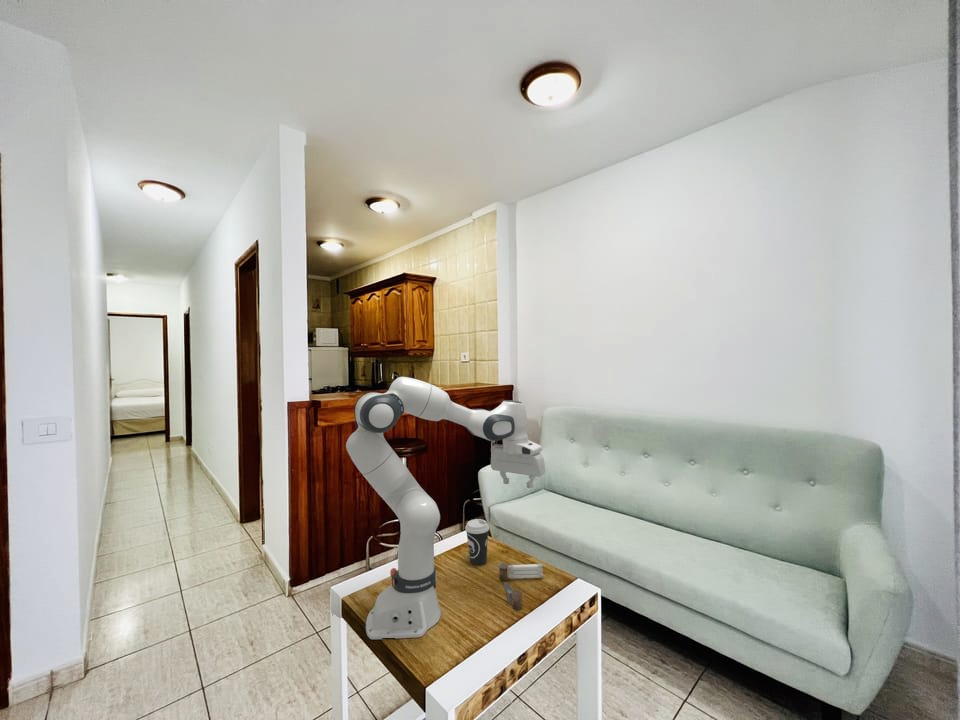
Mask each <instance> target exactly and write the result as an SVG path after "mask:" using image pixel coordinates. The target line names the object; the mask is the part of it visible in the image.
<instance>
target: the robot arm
mask: <svg viewBox="0 0 960 720" xmlns="http://www.w3.org/2000/svg"><path fill="white" fill-rule="evenodd" d="M526 411H527V410H526V407H525V404H524V403H523V402H521V401H518V400H511V399H510V400H508V399H505V400H502V402H501V403H500V404H499V405H498V406H497V407H495V408H494V409H492V410H487V409H486V408H485V409H484V408H472V409H471V408H468V407H466V406H463V405H460V404H458V403H455V402H454V401H453V400H451V398H450V396H449V394H448V393H447V392H446V391H445V390H443V389H442V388H440V387H438V386H436V385H434V384H431V383H429V382H427V381H424V380H420V379H416V378H413V377H407V376H399V377H397V378H396V379H395V380H394V381H392V383H391V385H390V386H389V388H388V390H387V391H386V392H384V393H380V392H377V391H375V392H374V391H370V392H366V393H364V394H362V395H361V396H360V397H359V398H357V400H356V402H355V404H354V407H353V414H354V420H355V427H356V428H357V429H356V430H354V432H352V434H350V436H349V437H348V439H347V441H346V443H345V448H346V449H345V450H346V451H347V453H348V455H349V457H350V460H352V461H351V462H353V464H354V466H356V468H357V470H358V471H359V472H360V473H361V474H362V476H363V477H364V478H365V480H366V481H367V482H368V484H369V485H370V486H371V487H372V489H374V490H375V493H377V494H378V496H379V497H380V498H381V499H382V500H383V501H384V502H385V503H386V504H387V505H388V507H389V508H390V509H391V510H392V512H393V513H394V514H395V516H396V517H397V518H398V520H399V523H400V537H399V542H398V544H397V568H398V569H397V568H396V567H392V568H391V569H390V577H391V584H389V586H387V588H386V587H385V588H386V589H384V590H382V592H380V593H379V594H378V595H377V598H376V600H375V604H374V607H373V608H372V609H371V610H370V611H369V612H368V615H367V617H366V620H365V621H366V622H365V632H366V633H365V634H366V635H367V637H368V638H369V639H370V640H383V639H382V638H395V639H411V638H421V637H423V636H424V635H425V634H426V633H427V631H428V630H429V629H431V628H433V627H434V626H435V625H436V624H437V623H438V622H439V620H440V619H441V616H442V610H441V607H440V605H439V600H438V595H437V589H436V588H437V570H436V566H435V554H434V553H435V546H434V545H435V537H436V530H437V529H438V527H439V525H440V520H441V513H440V510H439V507H438V504H437V503H436V501H434V499H433V498H432V497H431V496H430V495H429V494H428V493H427V492H426V491H425V490H424V489H423V488H422V487H421V485H420V484H419V483H418V482H417V480H416V478H415V477H414V476H413V474H412V473H411V472H410V470H409V468H408V467H407V466H406V464H405V463H404V462H403V461H402V460H401V458H400V457H399V456H398V454H397V453H396V451H394V450H393V448H392V447H391V446H390V444H389V443H388V442H387V440H386V438H385V437H384V433H386V432H388V431H390V430H391V429H392V428H394V426H395V425H396V423H397V422H398V421H399V419H400V418H401V417H402V416H403V415H404V414H408V415H411V416H414V417H417V418H420V419H423V420H427V421H434V422H439V421H441V420H447V421H450V422H453V423H454V424H455V423H456V424H458V425H461V426H463V427H464V428H466V429H467V431H468V432H469V433H470V434H471V435H473V436H475V437H478V438H482V439H485V440H487V441H489V442H490V441H491V442H498V441H499V442H500V441H502V444H498V443H494V444H493V445H492V446H491V448H490V453H491V455H490V456H491V457H490V468H491V469H492V470H493V471H497V472H499V475H500V477H501V478H502V482H503V483H502V484H503V485H509V484H510V477H509V478H508V476H507V475H506V474H507V473H510V474H515V475H516V474H517V475H523V476H528V478H529V481H527V482H526V488H527V489H532V488H533V487H534V483H533V482H535V479H536V478H537V477H539V478H540V477H542V476H543V475H544V474H545V473H546V467H545V459H544V456H543V454H542V453H541V451H543V450H542V445H541V444H539V443H536V442H534V441H531V440H530V439H529V436H528V433H527V427H528V418H527V412H526ZM372 613H373V614H372Z"/></svg>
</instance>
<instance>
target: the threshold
mask: <svg viewBox="0 0 960 720" xmlns="http://www.w3.org/2000/svg"><path fill="white" fill-rule="evenodd" d="M502 588H503V589H504V591H505V593H506V594H507V590H511V592H512V601H513V591H514V590H513V588H512V586H511V584H510V583H504V584H503V583H502Z"/></svg>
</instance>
